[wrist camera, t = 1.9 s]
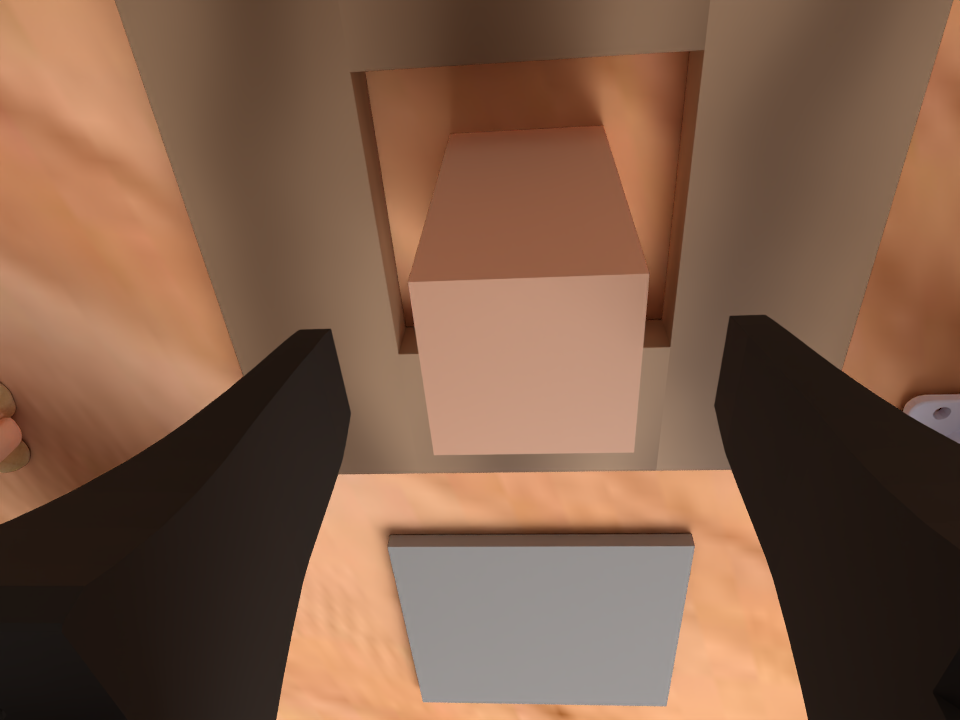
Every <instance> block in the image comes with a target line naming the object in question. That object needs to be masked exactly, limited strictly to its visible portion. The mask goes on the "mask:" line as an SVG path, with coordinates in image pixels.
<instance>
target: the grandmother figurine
mask: <svg viewBox="0 0 960 720" xmlns="http://www.w3.org/2000/svg"><path fill="white" fill-rule="evenodd" d="M15 410H16V405H15V402H14V400H13V397H12V394H11V393H10V391H9V390H8V389H7V388H6V387H5V386H4V385H3V384H1V383H0V472H2V473H6V472H12V471H16V470H18V469H20V468H22V467H23V466H25V465H26V464H27V463H28V462H29V458H30V451H29V449H28V447H27V445H26V444H25V443H24V442H23V441H22V440H21V439H22V433H21V430H20V428H19V426H18V425H17V424H16V422H15V421H14V420H13V419H11V418H10V417H11V416H12V415H13V414H14V413H15Z"/></svg>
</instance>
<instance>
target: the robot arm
mask: <svg viewBox="0 0 960 720" xmlns="http://www.w3.org/2000/svg"><path fill="white" fill-rule="evenodd" d="M714 407H715V412H716V416H717V421H718V425H719V430H720V434H721V438H722V442H723V446H724V450H725V454H726V457H727V459H728V462H729V465H730V467H731V470H732V473H733V475H734V478H735V480H736V483H737V486H738V488H739V491H740V493H741V496H742V498H743V501H744V503H745V506H746V509H747V511H748V514H749V516H750V519H751V521H752V524H753V526H754V529H755V531H756V534H757V536H758V539H759V542H760V544H761V547H762V549H763V552H764V554H765V557H766V560H767V563H768V566H769V569H770V572H771V574H772V577H773V580H774V584H775V588H776V591H777V595H778V599H779V603H780V606H781V610H782V614H783V617H784V621H785V625H786V629H787V632H788V636H789V640H790V644H791V649H792V653H793V657H794V661H795V665H796V669H797V673H798V677H799V681H800V685H801V689H802V694H803V698H804V703H805V707H806V712H807V717H808V720H960V394H940V395H921V396H917V397H915V398H912V399H911V400H910V401H908V402H907V404H906V405H905V407H904V409H903V412H902V411H901V410H899V409H898V408H896V407H895V406H893V405H891V404H890V403H888V402H887V401H885V400H884V399H882V398H881V397H879V396H877V395H876V394H874V393H873V392H871V391H870V390H868V389H867V388H865V387H864V386H862V385H861V384H860V383H858V382H857V381H855V380H854V379H852V378H851V377H849V376H848V375H847V374H845V373H844V372H842V371H841V370H840V369H838V368H837V367H836V366H834V365H833V364H831V363H830V362H829V361H827V360H826V359H825V358H823V357H822V356H821V355H819V354H818V353H817V352H815V351H814V350H813V349H811V348H810V347H809V346H807V345H806V344H805V343H803V342H802V341H801V340H800V339H798V338H797V337H796V336H794V335H793V334H792V333H790V332H789V331H788V330H786V329H785V328H784V327H782V326H781V325H780V324H778V323H777V322H775V321H774V320H773V319H771V318H770V317H768V316H767V315H737V316H729V322H728V328H727V334H726V339H725V345H724V351H723V357H722V363H721V369H720V374H719V380H718V386H717V392H716V398H715V403H714ZM942 407H943V408H942ZM939 408H942V409H940V410H939V411H936V410H937V409H939ZM350 417H351V410H350V406H349V402H348V398H347V394H346V389H345V385H344V381H343V377H342V373H341V368H340V364H339V360H338V356H337V351H336V347H335V343H334V339H333V335H332V330H331V329H301V330H298V331H297V332H295V333H294V334H293V335H291V336H290V337H289V338H288V339H286V340H285V341H284V342H283V343H282V344H281V345H279V346H278V347H277V348H276V349H275V350H274V351H272V352H271V353H270V354H269V355H268V356H267V357H266V358H264V359H263V360H262V361H261V362H260V363H259V364H258V365H256V366H255V367H254V368H253V369H252V370H250V371H249V372H248V373H247V374H246V375H245V376H243V377H242V378H241V379H240V380H239V381H238V382H236V383H235V384H234V385H233V386H232V387H231V388H229V389H228V390H227V391H226V392H224V393H223V394H222V395H220V396H219V397H218V398H217V399H215V400H214V401H213V402H211V403H210V404H209V405H208V406H206V407H205V408H204V409H202V410H201V411H200V412H199V413H197V414H196V415H195V416H193V417H192V418H191V419H190V420H188V421H187V422H186V423H184V424H183V425H181V426H180V427H179V428H177V429H176V430H174V431H173V432H171V433H170V434H168V435H167V436H166V437H164V438H163V439H161V440H160V441H158V442H156V443H155V444H153V445H152V446H150V447H149V448H147V449H146V450H144V451H142V452H141V453H139V454H138V455H136V456H134V457H133V458H131V459H130V460H128V461H126V462H124V463H123V464H121V465H119V466H117V467H115V468H114V469H112V470H110V471H108V472H106V473H105V474H103V475H101V476H99V477H97V478H95V479H94V480H92V481H90V482H88V483H86V484H85V485H83V486H81V487H79V488H77V489H76V490H74V491H72V492H70V493H68V494H66V495H64V496H61V497H59V498H57V499H55V500H53V501H51V502H49V503H47V504H45V505H43V506H41V507H39V508H36V509H34V510H32V511H30V512H28V513H25V514H23V515H21V516H19V517H17V518H14V519H12V520H10V521H8V522H5V523H3V524H1V525H0V720H276V718H277V712H278V706H279V700H280V694H281V688H282V682H283V677H284V672H285V667H286V662H287V656H288V651H289V646H290V641H291V636H292V631H293V626H294V621H295V617H296V612H297V608H298V603H299V599H300V594H301V589H302V585H303V581H304V577H305V574H306V570H307V567H308V563H309V560H310V556H311V553H312V551H313V548H314V545H315V542H316V539H317V536H318V533H319V530H320V527H321V524H322V521H323V518H324V515H325V512H326V509H327V506H328V503H329V500H330V497H331V494H332V491H333V488H334V485H335V482H336V479H337V476H338V473H339V470H340V467H341V463H342V460H343V456H344V451H345V446H346V441H347V435H348V429H349V423H350Z"/></svg>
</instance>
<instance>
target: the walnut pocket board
mask: <svg viewBox="0 0 960 720" xmlns="http://www.w3.org/2000/svg"><path fill="white" fill-rule="evenodd" d="M952 2H953V0H115V3H116V6H117V8H118V11H119V14H120V17H121V20H122V23H123V26H124V29H125V32H126V35H127V38H128V41H129V43H130V46H131V49H132V52H133V55H134V58H135V61H136V64H137V67H138V70H139V73H140V76H141V78H142V81H143V84H144V87H145V90H146V93H147V96H148V99H149V102H150V105H151V108H152V111H153V113H154V116H155V119H156V122H157V125H158V128H159V131H160V134H161V137H162V140H163V143H164V146H165V148H166V151H167V154H168V157H169V160H170V163H171V166H172V169H173V172H174V175H175V178H176V181H177V183H178V186H179V189H180V192H181V195H182V198H183V201H184V204H185V207H186V210H187V213H188V216H189V218H190V221H191V224H192V227H193V230H194V233H195V236H196V239H197V242H198V245H199V248H200V251H201V254H202V256H203V259H204V262H205V265H206V268H207V271H208V274H209V277H210V280H211V283H212V286H213V289H214V291H215V294H216V297H217V300H218V303H219V306H220V309H221V312H222V315H223V318H224V321H225V324H226V326H227V329H228V332H229V335H230V338H231V341H232V344H233V347H234V350H235V353H236V356H237V359H238V361H239V364H240V367H241V370H242V373H243V376H245V375H246V374H247V373H248V372H249V371H250V370H252V369H253V368H254V367H255V366H256V365H258V364H259V363H260V362H261V361H262V360H263V359H264V358H266V357H267V356H268V355H269V354H270V353H271V352H272V351H274V350H275V349H276V348H277V347H278V346H279V345H281V344H282V343H283V342H284V341H285V340H286V339H288V338H289V337H290V336H291V335H293V334H294V333H295V332H297V331H298V330H301V329H331V330H332V335H333V339H334V343H335V347H336V351H337V356H338V360H339V364H340V368H341V373H342V377H343V381H344V385H345V389H346V394H347V398H348V402H349V406H350V410H351V417H350V423H349V429H348V435H347V441H346V446H345V451H344V456H343V460H342V463H341V467H340V470H339V473H338V474H405V473H491V472H577V471H663V470H731V467H730V465H729V462H728V459H727V457H726V454H725V450H724V446H723V442H722V438H721V434H720V430H719V425H718V421H717V416H716V412H715V407H714V403H715V398H716V392H717V386H718V380H719V374H720V369H721V363H722V357H723V351H724V345H725V339H726V334H727V328H728V322H729V316H737V315H767V316H768V317H770V318H771V319H773V320H774V321H775V322H777V323H778V324H780V325H781V326H782V327H784V328H785V329H786V330H788V331H789V332H790V333H792V334H793V335H794V336H796V337H797V338H798V339H800V340H801V341H802V342H803V343H805V344H806V345H807V346H809V347H810V348H811V349H813V350H814V351H815V352H817V353H818V354H819V355H821V356H822V357H823V358H825V359H826V360H827V361H829V362H830V363H831V364H833V365H834V366H836V367H837V368H838V369H840V370H841V371H842V367H843V364H844V361H845V357H846V354H847V351H848V347H849V344H850V341H851V337H852V334H853V331H854V327H855V324H856V321H857V318H858V314H859V311H860V308H861V304H862V301H863V298H864V294H865V291H866V288H867V284H868V281H869V278H870V274H871V271H872V268H873V264H874V261H875V258H876V254H877V251H878V248H879V245H880V241H881V238H882V235H883V231H884V228H885V225H886V221H887V218H888V215H889V211H890V208H891V205H892V201H893V198H894V195H895V191H896V188H897V185H898V182H899V178H900V175H901V172H902V168H903V165H904V162H905V158H906V155H907V152H908V148H909V145H910V142H911V138H912V135H913V132H914V128H915V125H916V122H917V119H918V115H919V112H920V109H921V105H922V102H923V99H924V95H925V92H926V89H927V85H928V82H929V79H930V75H931V72H932V69H933V65H934V62H935V59H936V55H937V52H938V49H939V46H940V42H941V39H942V36H943V32H944V29H945V26H946V22H947V19H948V16H949V12H950V9H951V6H952ZM681 51H689V61H688V71H687V80H686V90H685V100H684V109H683V119H682V129H681V139H680V148H679V158H678V168H677V177H676V187H675V197H674V207H673V216H672V226H671V236H670V245H669V255H668V265H667V275H666V284H665V294H664V304H663V313H662V320H645V332H644V343H643V355H642V366H641V378H640V390H639V401H638V413H637V424H636V436H635V447H634V453H565V454H492V455H434V453H433V446H432V439H431V433H430V426H429V419H428V413H427V406H426V399H425V393H424V386H423V379H422V373H421V366H420V359H419V353H418V346H417V339H416V333H415V327H406V326H405V320H404V314H403V307H402V301H401V295H400V289H399V282H398V276H397V270H396V263H395V257H394V251H393V245H392V238H391V232H390V226H389V219H388V213H387V207H386V201H385V194H384V188H383V182H382V175H381V169H380V163H379V157H378V150H377V144H376V138H375V131H374V125H373V119H372V113H371V106H370V100H369V94H368V88H367V81H366V75H365V71H377V70H393V69H409V68H425V67H441V66H457V65H473V64H489V63H505V62H521V61H537V60H553V59H569V58H585V57H601V56H617V55H633V54H649V53H665V52H681Z"/></svg>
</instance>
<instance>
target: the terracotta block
mask: <svg viewBox="0 0 960 720" xmlns="http://www.w3.org/2000/svg"><path fill="white" fill-rule="evenodd" d="M648 285H649V270H648V267H647V264H646V261H645V258H644V254H643V251H642V248H641V245H640V242H639V238H638V235H637V232H636V229H635V226H634V222H633V219H632V216H631V213H630V210H629V206H628V203H627V200H626V197H625V194H624V190H623V187H622V184H621V181H620V178H619V174H618V171H617V168H616V165H615V162H614V158H613V155H612V152H611V149H610V146H609V142H608V139H607V136H606V133H605V130H604V126H603V125H601V126H583V127H564V128H546V129H527V130H509V131H490V132H472V133H453V134H450V136H449V140H448V143H447V147H446V150H445V154H444V157H443V161H442V164H441V168H440V171H439V175H438V178H437V182H436V185H435V189H434V192H433V196H432V199H431V203H430V207H429V210H428V214H427V217H426V221H425V224H424V228H423V231H422V235H421V238H420V242H419V245H418V249H417V252H416V256H415V259H414V263H413V266H412V270H411V273H410V277H409V280H408V286H409V292H410V299H411V306H412V313H413V319H414V326H415V333H416V339H417V346H418V353H419V359H420V366H421V373H422V379H423V386H424V393H425V399H426V406H427V413H428V419H429V426H430V433H431V439H432V446H433V453H434V455H492V454H565V453H634V447H635V436H636V424H637V413H638V401H639V390H640V378H641V366H642V355H643V343H644V332H645V320H646V309H647V297H648Z"/></svg>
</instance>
